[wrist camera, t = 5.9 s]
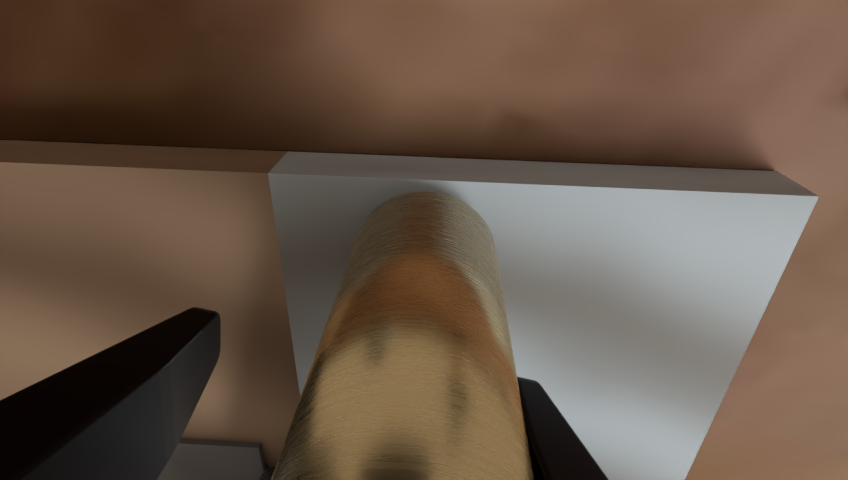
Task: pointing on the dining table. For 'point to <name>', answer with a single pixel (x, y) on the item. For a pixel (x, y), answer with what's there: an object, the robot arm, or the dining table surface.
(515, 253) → the door board
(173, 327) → the robot arm
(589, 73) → the dining table surface
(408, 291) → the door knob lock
